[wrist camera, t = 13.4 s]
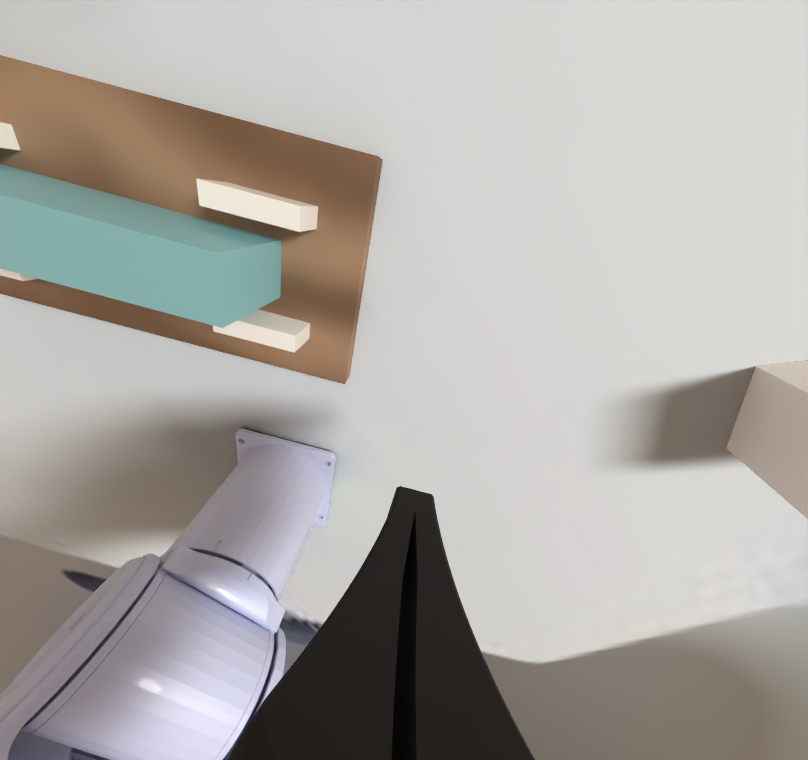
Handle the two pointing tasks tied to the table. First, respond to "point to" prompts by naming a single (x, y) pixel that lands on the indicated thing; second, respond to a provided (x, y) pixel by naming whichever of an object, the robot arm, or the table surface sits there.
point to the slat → (134, 250)
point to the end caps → (247, 205)
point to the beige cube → (776, 430)
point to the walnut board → (177, 190)
